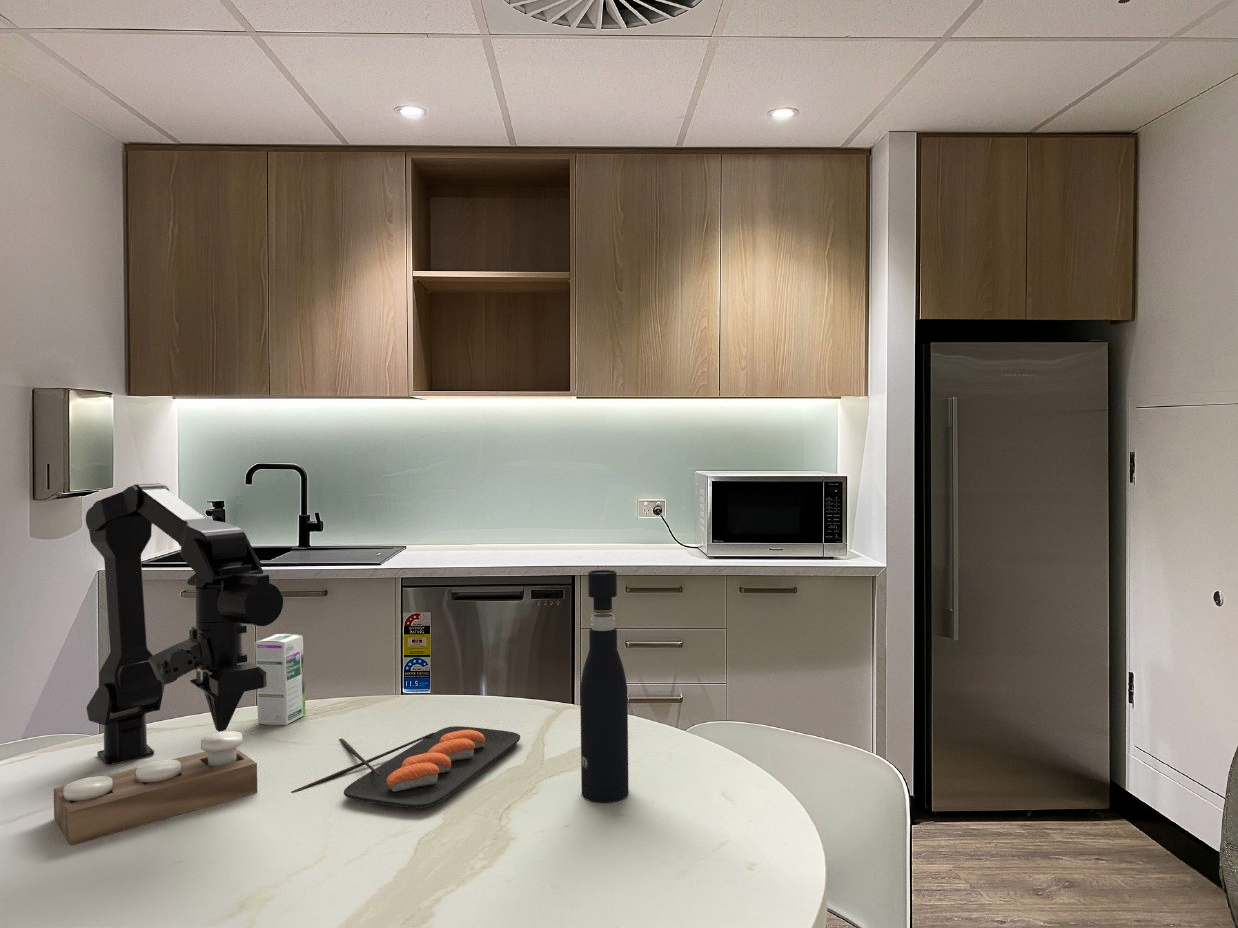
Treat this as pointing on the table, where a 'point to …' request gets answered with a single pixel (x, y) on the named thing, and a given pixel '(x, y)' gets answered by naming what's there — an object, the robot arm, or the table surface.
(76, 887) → the table surface
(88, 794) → the knob
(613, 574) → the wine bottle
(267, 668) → the syrup box
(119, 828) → the knob mount
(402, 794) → the sushi plate
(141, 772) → the knob middle
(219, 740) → the knob
